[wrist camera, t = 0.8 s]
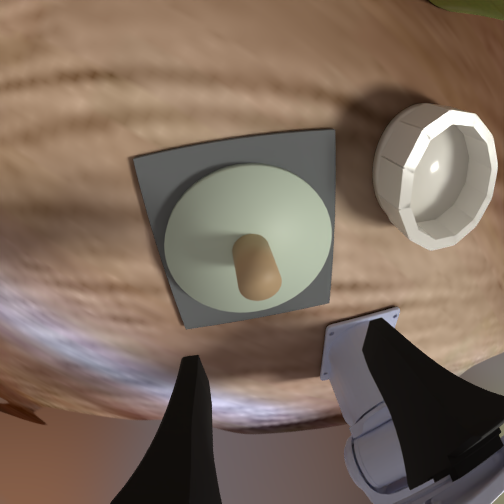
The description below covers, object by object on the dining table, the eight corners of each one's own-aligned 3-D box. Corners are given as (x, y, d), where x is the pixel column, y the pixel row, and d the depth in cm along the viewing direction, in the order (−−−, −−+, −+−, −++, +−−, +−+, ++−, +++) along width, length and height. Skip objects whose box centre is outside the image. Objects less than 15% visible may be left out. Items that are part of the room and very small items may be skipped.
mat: (327, 299, 24) (329, 303, 24) (186, 325, 23) (186, 329, 23) (332, 128, 16) (335, 129, 16) (134, 157, 16) (133, 159, 15)
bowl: (456, 218, 22) (481, 238, 19) (366, 233, 21) (390, 260, 18) (471, 109, 16) (503, 119, 13) (372, 97, 16) (405, 104, 13)
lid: (324, 290, 23) (344, 329, 19) (187, 315, 22) (187, 358, 19) (328, 153, 17) (360, 175, 13) (146, 180, 16) (131, 211, 13)
